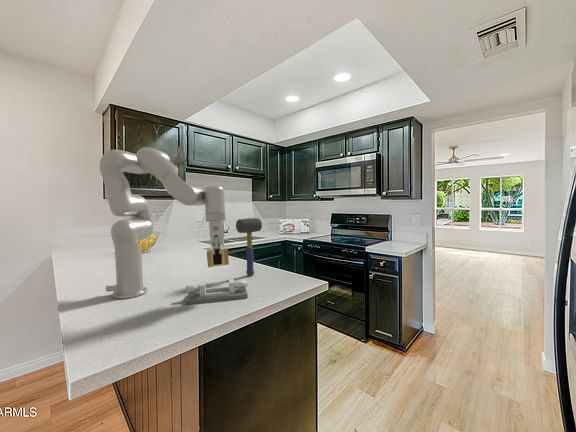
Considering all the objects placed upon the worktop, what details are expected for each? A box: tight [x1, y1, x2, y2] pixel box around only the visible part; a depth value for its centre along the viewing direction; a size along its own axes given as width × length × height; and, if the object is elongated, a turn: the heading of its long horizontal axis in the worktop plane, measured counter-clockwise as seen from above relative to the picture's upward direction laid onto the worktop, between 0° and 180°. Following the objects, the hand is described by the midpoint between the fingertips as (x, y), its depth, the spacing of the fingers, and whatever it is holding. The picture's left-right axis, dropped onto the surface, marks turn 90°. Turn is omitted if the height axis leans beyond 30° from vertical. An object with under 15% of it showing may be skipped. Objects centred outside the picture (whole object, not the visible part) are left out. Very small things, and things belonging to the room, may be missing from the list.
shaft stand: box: [184, 278, 249, 305], centre depth 103 cm, size 24×10×6 cm, turn 104°
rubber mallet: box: [235, 217, 263, 277], centre depth 132 cm, size 12×8×30 cm, turn 131°
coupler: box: [206, 247, 230, 268], centre depth 102 cm, size 8×4×6 cm, turn 104°
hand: (217, 262), depth 102 cm, fingers closed on coupler, 4 cm apart
